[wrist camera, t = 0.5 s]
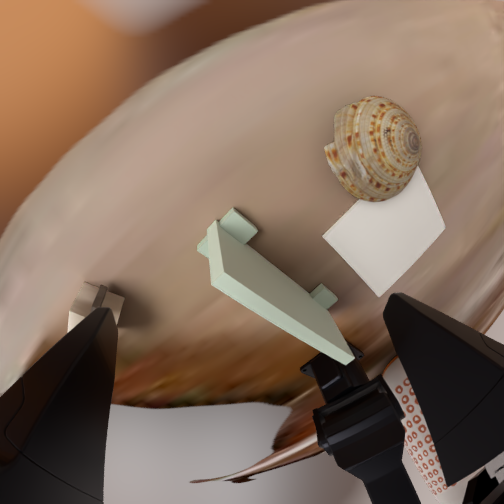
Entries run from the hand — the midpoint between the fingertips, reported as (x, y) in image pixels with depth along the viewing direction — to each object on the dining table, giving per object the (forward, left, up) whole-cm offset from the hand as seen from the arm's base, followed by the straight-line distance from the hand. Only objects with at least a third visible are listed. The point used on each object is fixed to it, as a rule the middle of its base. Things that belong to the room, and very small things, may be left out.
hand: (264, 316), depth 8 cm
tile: (-14, -8, -13) cm, 21 cm away
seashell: (-4, -7, -13) cm, 15 cm away
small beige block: (+2, +15, -13) cm, 20 cm away
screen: (-8, +3, -13) cm, 15 cm away
